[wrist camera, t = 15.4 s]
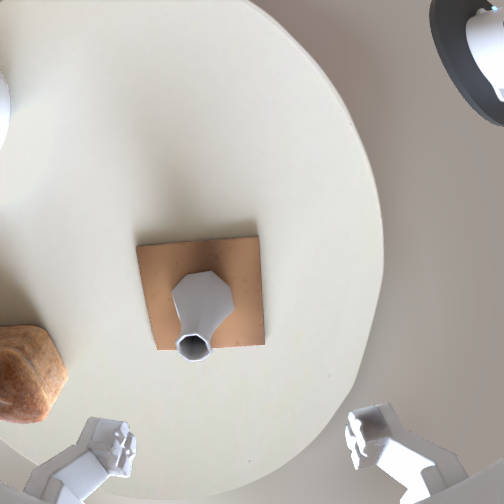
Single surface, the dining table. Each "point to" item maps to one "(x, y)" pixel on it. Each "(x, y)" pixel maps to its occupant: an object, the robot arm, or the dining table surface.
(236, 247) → the coaster
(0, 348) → the bread
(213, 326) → the flask
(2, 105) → the vase
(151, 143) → the dining table surface
